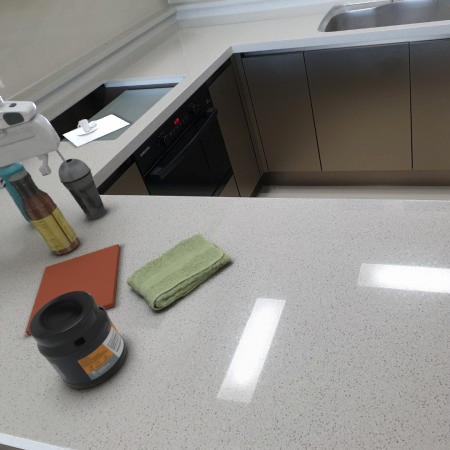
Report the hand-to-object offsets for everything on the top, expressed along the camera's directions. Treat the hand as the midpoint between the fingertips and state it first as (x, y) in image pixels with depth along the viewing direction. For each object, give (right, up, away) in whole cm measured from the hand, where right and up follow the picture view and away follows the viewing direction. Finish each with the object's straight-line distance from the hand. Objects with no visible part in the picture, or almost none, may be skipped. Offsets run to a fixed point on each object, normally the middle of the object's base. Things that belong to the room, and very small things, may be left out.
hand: (24, 180), depth 96 cm
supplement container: (+24, -32, -21) cm, 45 cm away
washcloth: (+34, -19, -6) cm, 40 cm away
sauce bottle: (+3, -15, +10) cm, 18 cm away
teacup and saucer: (-19, +26, +75) cm, 82 cm away
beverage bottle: (-10, -8, +24) cm, 27 cm away
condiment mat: (+13, -22, -3) cm, 25 cm away
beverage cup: (+6, -7, +21) cm, 23 cm away
